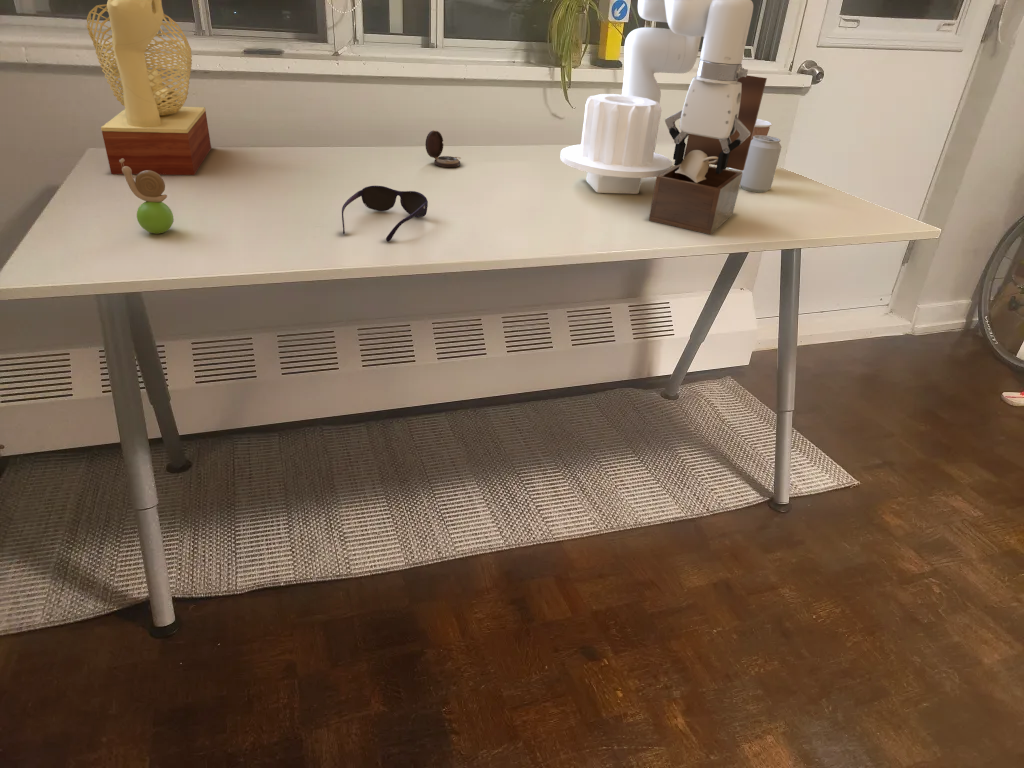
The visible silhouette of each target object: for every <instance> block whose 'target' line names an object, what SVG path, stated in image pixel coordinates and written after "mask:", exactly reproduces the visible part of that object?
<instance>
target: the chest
mask: <svg viewBox="0 0 1024 768" xmlns="http://www.w3.org/2000/svg"><path fill="white" fill-rule="evenodd" d="M680 165H681V164H679V165H677V166H676V165H674V166H672V167H671V168H670V169H669V170H667V171H665V172H663V173H662V174H660V175H658V176H656V177H655V181H654V182H655V184H654V189H653V195H652V200H651V206H650V211H649V217H648V221H650V222H654V223H659V224H663V225H667V226H671V227H674V228H675V227H676V228H679V229H680V228H681V229H685V230H689V231H693V232H697V233H701V234H706V235H712V234H713V233H714V232H715V231H717V229H718V228H720V227H721V226H722V225H723V224H724V223H725V222H726V221H727V220H728V219H729V218H731V217H732V216H733V215H734V211H735V207H736V203H737V199H738V195H739V190H740V187H741V185H740V182H741V178H742V174H743V172H740V171H735V170H732V169H728V168H726V169H725V170H724V169H723V172H721V173H720V174H716V173H715V172H716V167H717V166H711V165H709V168H708V172H707V173H706V175H705V178H706V180H702V181H700V182H698V183H696V182H694V181H693V180H692V179H691V178H690V177H688V176H686V175H684V174H681V173H675V172H676V171H677V170H678V169H679V167H680Z"/></svg>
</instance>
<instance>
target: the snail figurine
mask: <svg viewBox="0 0 1024 768" xmlns="http://www.w3.org/2000/svg"><path fill="white" fill-rule="evenodd" d="M124 161H125V160H124V159H123V158H122V159H121V160H119V162H120V163H121V165H122V163H123V162H124ZM123 166H124V164H123ZM122 172H123V174H122V175H124V178H125V180H126V183H127V185H128V188H129V189H130V191H131V192H132V193H133V194H134V196H136V197H137V198H138V199H140V200H142V201H144V202H142V203H141V204H140V205H139V207H138V208H137V211H136V219H137V222H138V224H139V227H141V228H142V229H143V230H144V231H146V232H148V233H151V234H154V235H155V234H163V233H166V232H167V231H169V230H170V229H171V227H172V226H173V223H174V214H173V211H172V209H171V208H170V206H168V205H167V204H166V203H164V202H163V201H165V200H166V199H167V198H168V195H167V194H163V193H164V192H165V190H166V183H165V181H164V178H163V177H162V176H161V175H159V174H158V173H156V172H154V171H150V170H145V171H142V172H140V173H139V174H136V177H135V178H134V176H133V174H132V170H131V168H130V167H128V166H124V167H122Z"/></svg>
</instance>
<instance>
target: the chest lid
mask: <svg viewBox="0 0 1024 768" xmlns="http://www.w3.org/2000/svg"><path fill="white" fill-rule="evenodd" d="M767 79H768V78H767V77H761V76H754V75H749V74H747V76H746V77H740V78H739V79H738V81H737V82H740V83H742V89H741V101H740V108H739V115H738V119H739V120H740V121H741V122H742V123H743V125H744V126H745V127H746V128H747V129H748V130H749V131H750V133H751V134H750V136H749V137H748V138H747V139H746V140H745V141H743V142H742V143H741V144H740V145H739V146H737V147H736V148H735V149H733V150H732V151H730V154H729V159H728V163H727V167H726V168H727V169H729V168H733V169H738V170H744V167H745V163H746V159H747V155H748V151H749V147H750V143H751V140H752V136H753V132H754V128H755V124H756V120H757V119H758V115H759V112H760V107H761V103H762V99H763V96H764V91H765V87H766V84H767V81H768V80H767ZM739 136H740V133H739V132H738V131H737V130H735V133H734V134H733V135H731V136H730V139H731V142H733V141H735V140H736V139H737V138H738V137H739ZM686 140H687V141H686V147H685V152H684V157H685V156H686V155H687V154H688V153H689V152H691V151H693V150H700V151H702V152H704V153H705V154H707V157H712V156H715V157H718V158H719V154H720V153H721V152H722V147H721V144H720V141H719V139H715V138H709V137H704V136H698V135H693V134H689V135H688V136H687V139H686ZM684 157H683V158H684ZM714 160H716V159H711V160H709V161H714ZM717 163H718V162H717ZM717 163H714V164H711V165H714V166H717Z"/></svg>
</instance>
